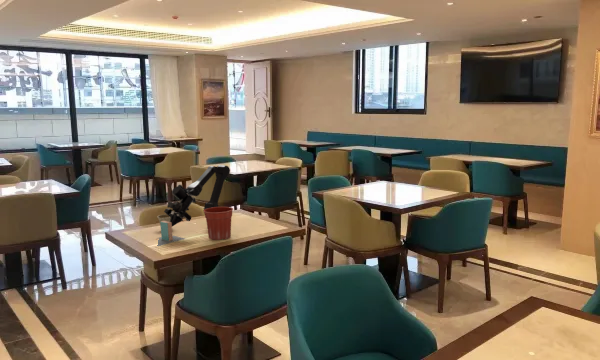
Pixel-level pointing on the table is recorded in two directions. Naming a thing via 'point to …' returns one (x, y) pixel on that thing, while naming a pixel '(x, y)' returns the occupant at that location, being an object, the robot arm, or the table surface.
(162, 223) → the salmon rectangular block
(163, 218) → the flower pot
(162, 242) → the mat
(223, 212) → the flower pot
